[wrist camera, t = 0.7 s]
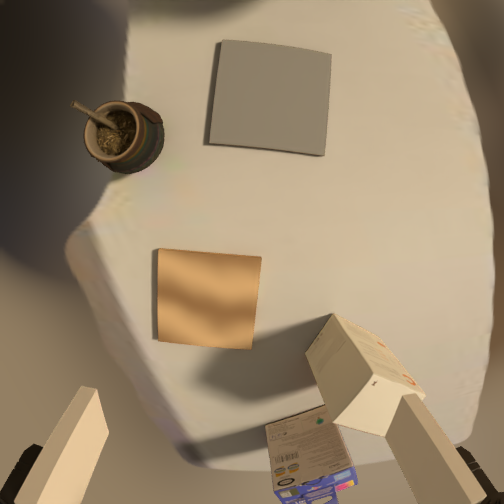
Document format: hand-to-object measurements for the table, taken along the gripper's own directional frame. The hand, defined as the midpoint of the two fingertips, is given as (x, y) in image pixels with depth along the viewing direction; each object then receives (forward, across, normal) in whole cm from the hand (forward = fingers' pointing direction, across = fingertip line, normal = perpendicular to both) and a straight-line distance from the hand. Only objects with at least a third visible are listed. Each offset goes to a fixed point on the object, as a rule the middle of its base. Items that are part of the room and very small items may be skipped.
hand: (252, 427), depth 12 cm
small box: (+24, +13, -10) cm, 29 cm away
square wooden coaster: (+24, -4, -4) cm, 24 cm away
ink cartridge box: (+24, +10, -24) cm, 35 cm away
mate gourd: (+24, -12, +13) cm, 30 cm away
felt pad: (+24, +2, +19) cm, 30 cm away
